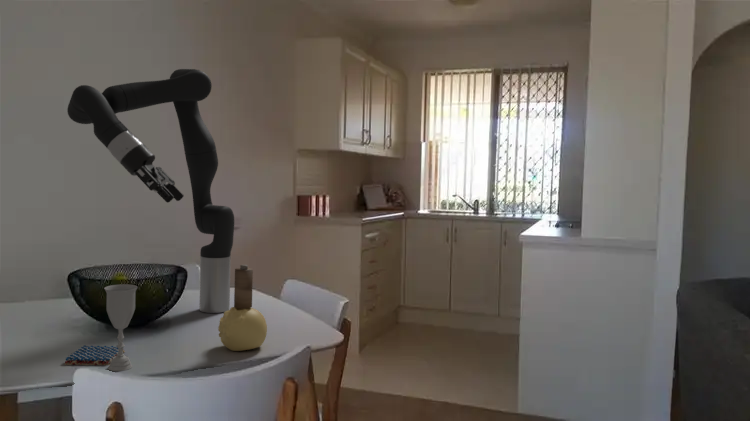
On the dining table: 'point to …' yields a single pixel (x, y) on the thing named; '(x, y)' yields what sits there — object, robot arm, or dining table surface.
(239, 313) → the sculpture
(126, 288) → the chalice
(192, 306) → the dining table surface
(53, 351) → the dining table surface
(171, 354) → the dining table surface
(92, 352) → the woven mat
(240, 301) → the walnut pepper mill
